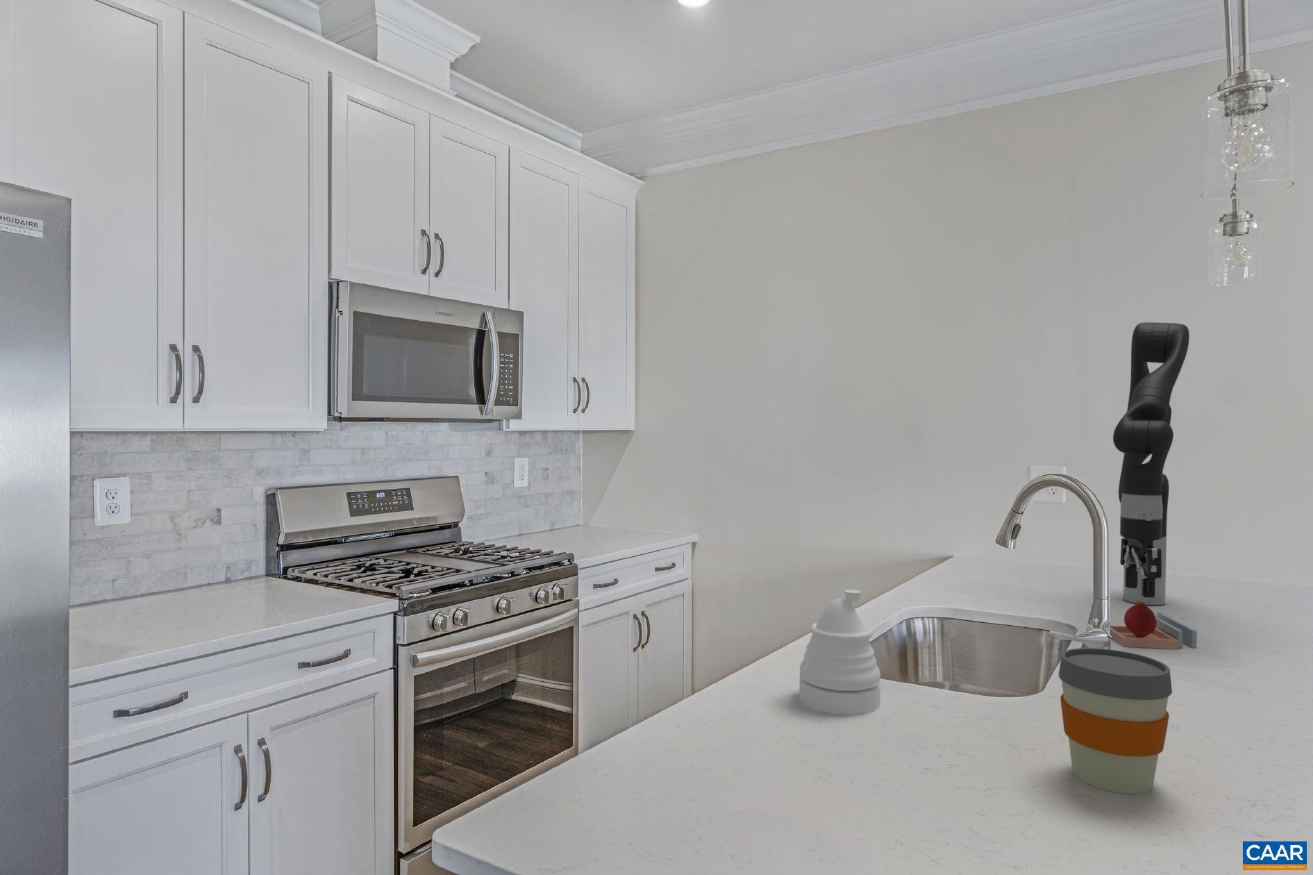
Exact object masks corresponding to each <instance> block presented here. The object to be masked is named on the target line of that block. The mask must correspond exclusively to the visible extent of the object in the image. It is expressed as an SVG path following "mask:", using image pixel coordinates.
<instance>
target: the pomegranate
mask: <svg viewBox="0 0 1313 875" xmlns="http://www.w3.org/2000/svg"><path fill="white" fill-rule="evenodd" d="M1136 602H1137V603H1135V604H1134V605H1132V606H1130V607H1129V608H1128V609H1127V610H1126V611H1125V613H1124V616H1123V621H1124V624H1125V625H1124V626H1126V627H1127V628H1128V629H1129V630H1130V631H1131V632H1132V633H1133V634H1134V635H1135V636H1136V637H1137V638H1143V637H1145V636H1147V635H1149V634H1151V633H1152V632H1153V631H1154V630H1155V628H1156V624H1157V621H1156V617H1157V616H1156V614H1155V613H1154V612H1153V610H1152V609H1151V608H1150V607H1149V606H1148V605H1145V604H1144V603H1143V602H1142V601H1140V600H1137V601H1136ZM1155 616H1156V617H1155Z"/></svg>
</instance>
